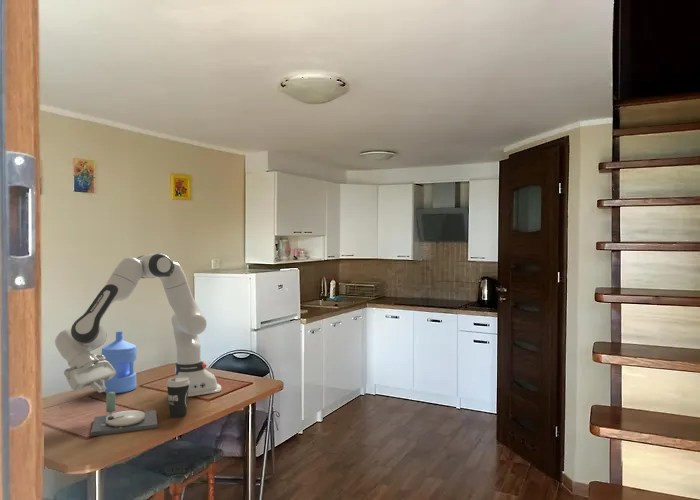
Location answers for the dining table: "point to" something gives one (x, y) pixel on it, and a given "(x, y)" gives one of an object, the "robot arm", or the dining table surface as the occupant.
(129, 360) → the water jug
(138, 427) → the dial base plate
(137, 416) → the dial
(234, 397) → the dining table surface
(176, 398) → the coffee cup
